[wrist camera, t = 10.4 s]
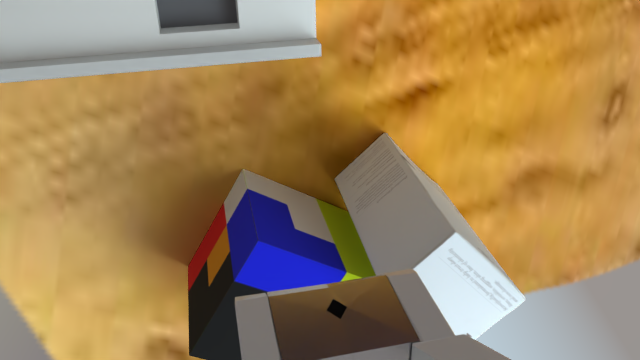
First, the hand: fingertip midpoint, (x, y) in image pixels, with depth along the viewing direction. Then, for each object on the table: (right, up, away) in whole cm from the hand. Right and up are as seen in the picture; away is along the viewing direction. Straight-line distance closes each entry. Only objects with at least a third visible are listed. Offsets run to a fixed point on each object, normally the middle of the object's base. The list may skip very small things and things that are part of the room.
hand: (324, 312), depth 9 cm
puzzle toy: (-4, -3, +37) cm, 37 cm away
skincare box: (+5, +2, +37) cm, 37 cm away
